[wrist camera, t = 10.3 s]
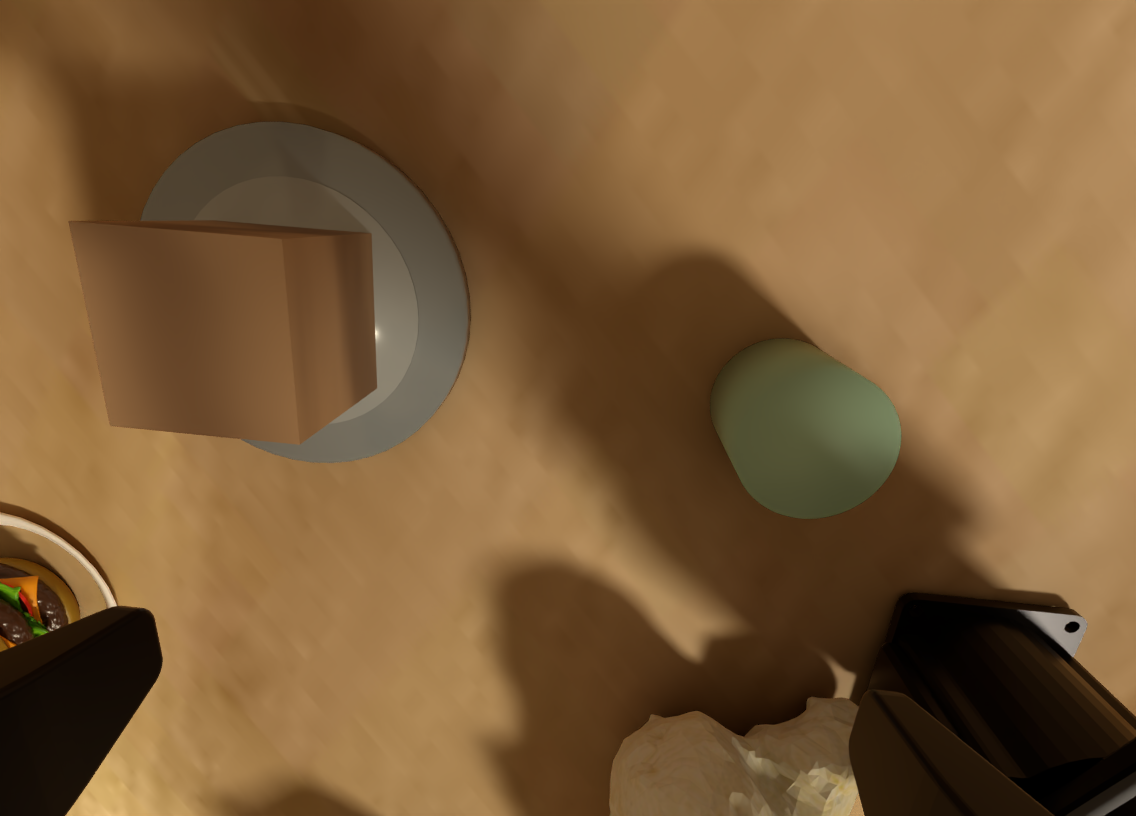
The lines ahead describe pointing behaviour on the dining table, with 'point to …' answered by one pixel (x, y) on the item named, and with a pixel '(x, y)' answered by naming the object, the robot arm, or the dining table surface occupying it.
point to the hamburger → (37, 592)
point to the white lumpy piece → (738, 766)
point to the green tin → (803, 429)
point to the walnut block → (228, 325)
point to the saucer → (399, 251)
